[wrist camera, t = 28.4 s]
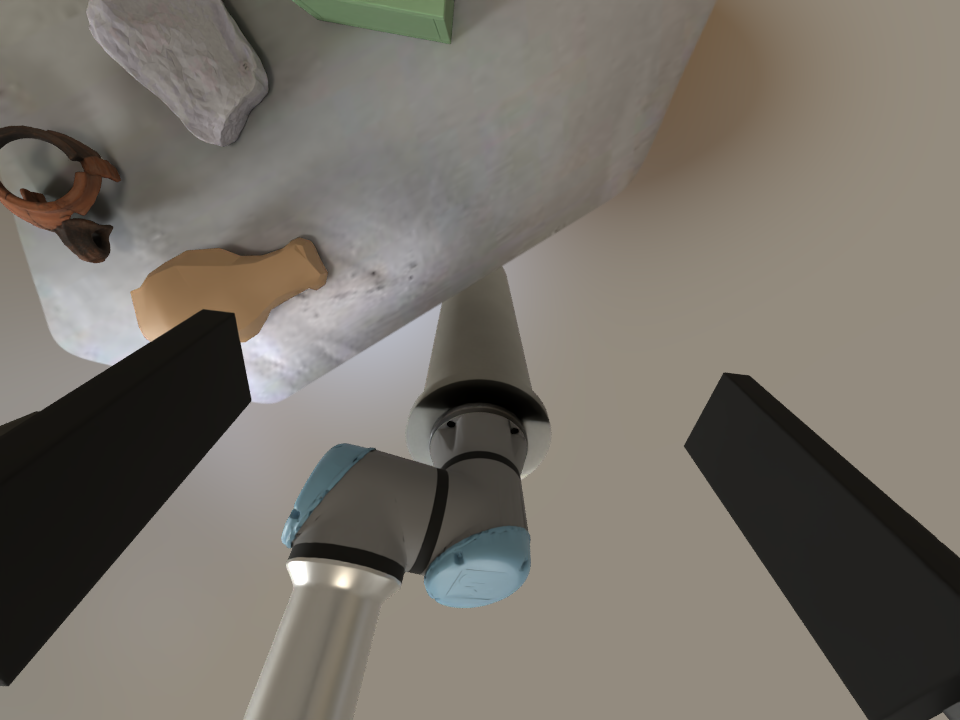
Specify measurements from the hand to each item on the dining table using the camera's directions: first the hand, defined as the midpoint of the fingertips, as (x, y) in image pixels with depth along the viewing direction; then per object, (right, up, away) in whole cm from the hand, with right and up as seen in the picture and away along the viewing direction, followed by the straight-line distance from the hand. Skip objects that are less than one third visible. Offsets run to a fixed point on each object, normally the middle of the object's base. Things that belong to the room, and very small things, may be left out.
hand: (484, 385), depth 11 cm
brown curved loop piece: (-41, +18, +29) cm, 53 cm away
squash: (-27, +10, +34) cm, 45 cm away
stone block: (-25, +28, +24) cm, 44 cm away
